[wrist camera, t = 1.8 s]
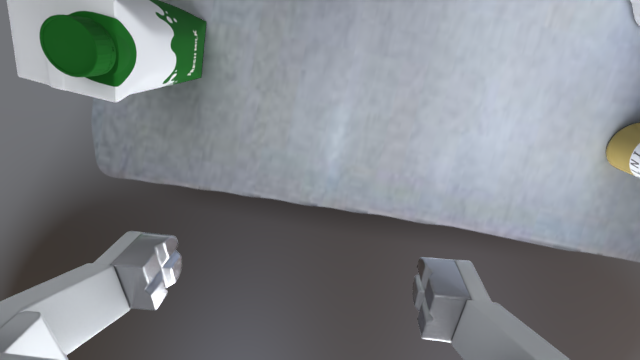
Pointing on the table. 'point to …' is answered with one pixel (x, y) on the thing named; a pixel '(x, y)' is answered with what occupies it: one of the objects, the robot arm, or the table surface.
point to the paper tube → (626, 150)
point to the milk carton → (106, 45)
